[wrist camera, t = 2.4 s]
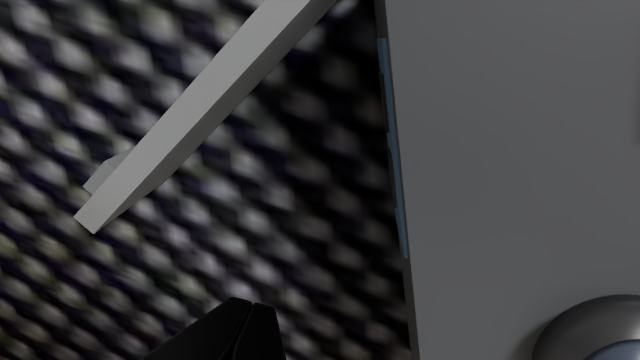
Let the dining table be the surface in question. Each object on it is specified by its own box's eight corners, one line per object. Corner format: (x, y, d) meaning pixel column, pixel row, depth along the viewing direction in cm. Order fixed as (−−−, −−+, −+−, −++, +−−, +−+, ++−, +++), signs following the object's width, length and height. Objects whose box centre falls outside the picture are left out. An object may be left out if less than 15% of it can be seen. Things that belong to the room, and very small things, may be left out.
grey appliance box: (637, 327, 16) (788, 483, 10) (405, 342, 17) (428, 489, 12) (682, -68, 12) (990, -168, 6) (367, -10, 13) (374, -48, 7)
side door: (168, 183, 16) (93, 241, 11) (138, 156, 15) (49, 204, 11) (367, -24, 13) (373, -58, 8) (335, -63, 12) (323, -120, 8)
